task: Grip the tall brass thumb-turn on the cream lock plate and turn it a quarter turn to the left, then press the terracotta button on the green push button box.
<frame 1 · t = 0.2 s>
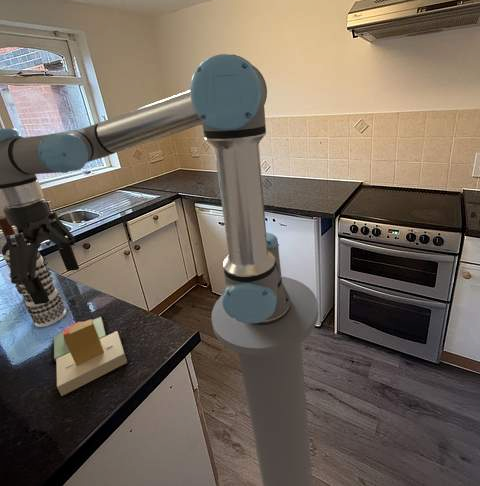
hand: (59, 284, 72), 21 cm above the countertop, tool pointing down, fingers open, 13 cm apart
lock plate: (93, 365, 75), on the countertop
wine bottle: (38, 295, 107), on the countertop
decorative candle: (51, 317, 94), on the countertop
thumbturn: (83, 341, 72), point 8 cm above the countertop, hinge at 0.0°
green push button box: (80, 339, 84), on the countertop
bell button: (76, 329, 83), point 3 cm above the countertop, slide at 0.1 cm
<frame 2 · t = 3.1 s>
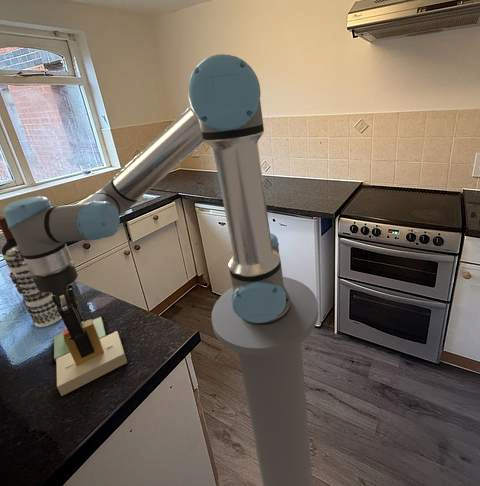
hand: (87, 349, 73), 5 cm above the countertop, tool pointing down, fingers closed on thumbturn, 2 cm apart
thumbturn: (83, 341, 72), point 8 cm above the countertop, hinge at 0.0°, touching gripper
everything else where it was.
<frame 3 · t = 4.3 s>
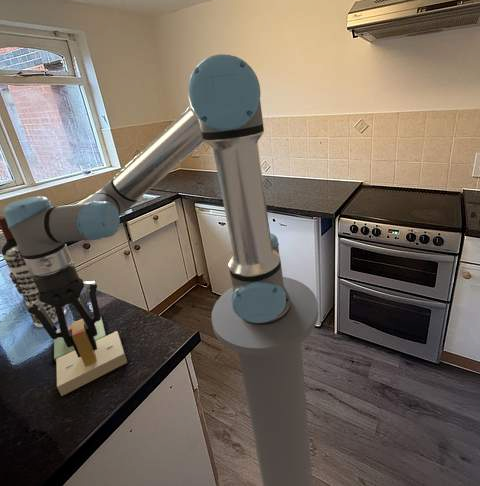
hand: (87, 349, 73), 5 cm above the countertop, tool pointing down, fingers closed on thumbturn, 2 cm apart
thumbturn: (83, 341, 72), point 8 cm above the countertop, hinge at 89.4°, touching gripper
everything else where it was.
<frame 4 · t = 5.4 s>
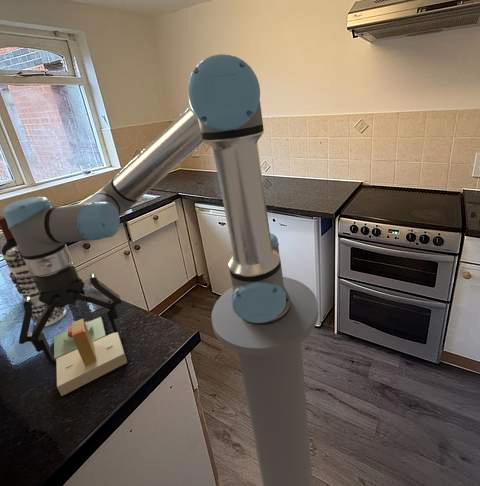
hand: (84, 343, 72), 7 cm above the countertop, tool pointing down, fingers open, 13 cm apart
thumbturn: (83, 341, 72), point 8 cm above the countertop, hinge at 89.4°
everything else where it was.
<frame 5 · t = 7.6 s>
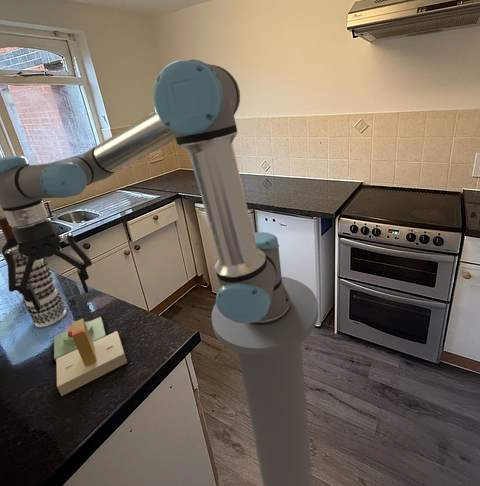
hand: (63, 299, 79), 14 cm above the countertop, tool pointing down, fingers open, 10 cm apart
nothing on the countertop moved.
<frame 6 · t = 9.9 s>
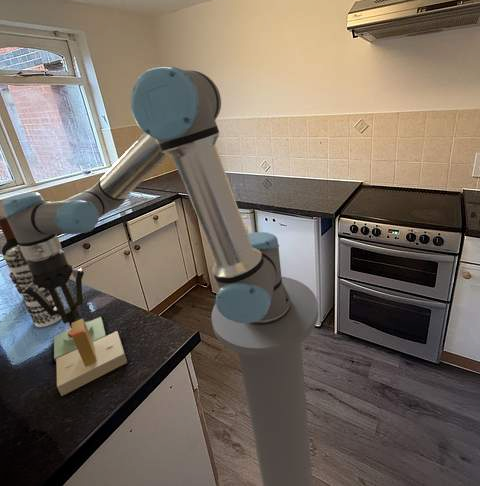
hand: (76, 328, 83), 4 cm above the countertop, tool pointing down, fingers closed
bell button: (77, 332, 83), point 3 cm above the countertop, slide at -0.9 cm, touching gripper
everything else where it was.
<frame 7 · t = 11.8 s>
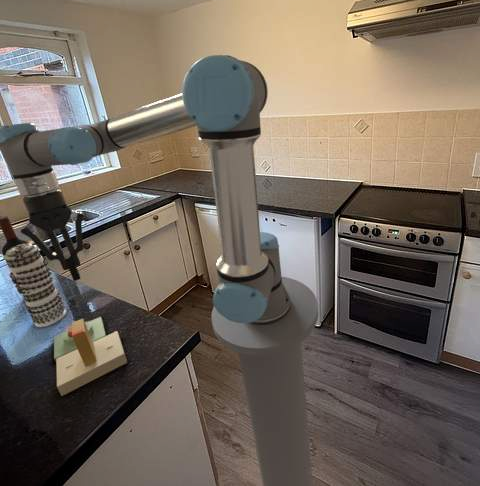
hand: (76, 277, 78), 19 cm above the countertop, tool pointing down, fingers closed
bell button: (76, 329, 83), point 3 cm above the countertop, slide at 0.1 cm
everything else where it was.
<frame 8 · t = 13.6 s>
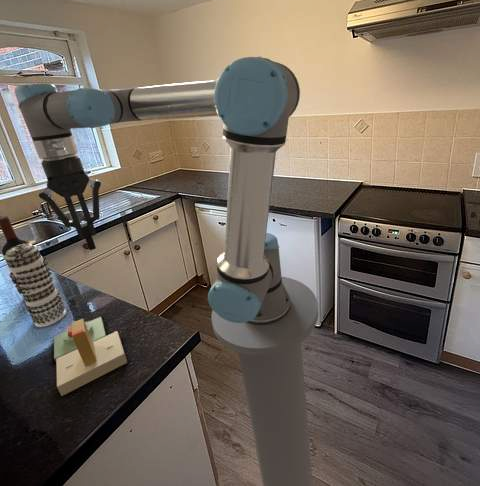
hand: (92, 247, 77), 26 cm above the countertop, tool pointing down, fingers closed
nothing on the countertop moved.
at the end: thumbturn at +89° (first picture: +0°); bell button pushed in 1.0 cm at the most during the clip, back to where it started at the end; bell button slide at 0.1 cm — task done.
